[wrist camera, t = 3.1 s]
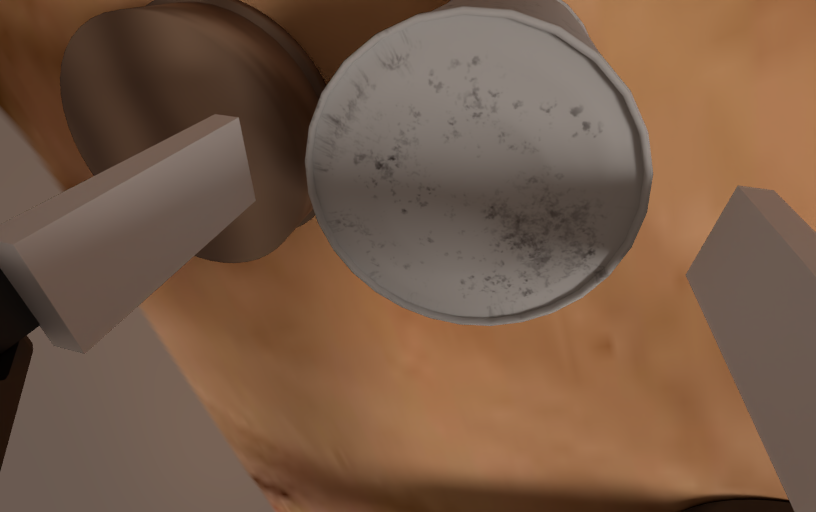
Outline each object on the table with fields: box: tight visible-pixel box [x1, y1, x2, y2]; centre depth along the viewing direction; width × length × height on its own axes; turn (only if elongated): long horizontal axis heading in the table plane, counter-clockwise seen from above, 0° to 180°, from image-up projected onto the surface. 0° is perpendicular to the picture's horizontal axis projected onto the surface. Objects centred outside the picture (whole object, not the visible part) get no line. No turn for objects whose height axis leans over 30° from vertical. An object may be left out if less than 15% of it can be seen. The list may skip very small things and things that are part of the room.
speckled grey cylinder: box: [305, 0, 653, 326], centre depth 17 cm, size 10×10×12 cm
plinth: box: [60, 0, 326, 263], centre depth 25 cm, size 15×15×5 cm
